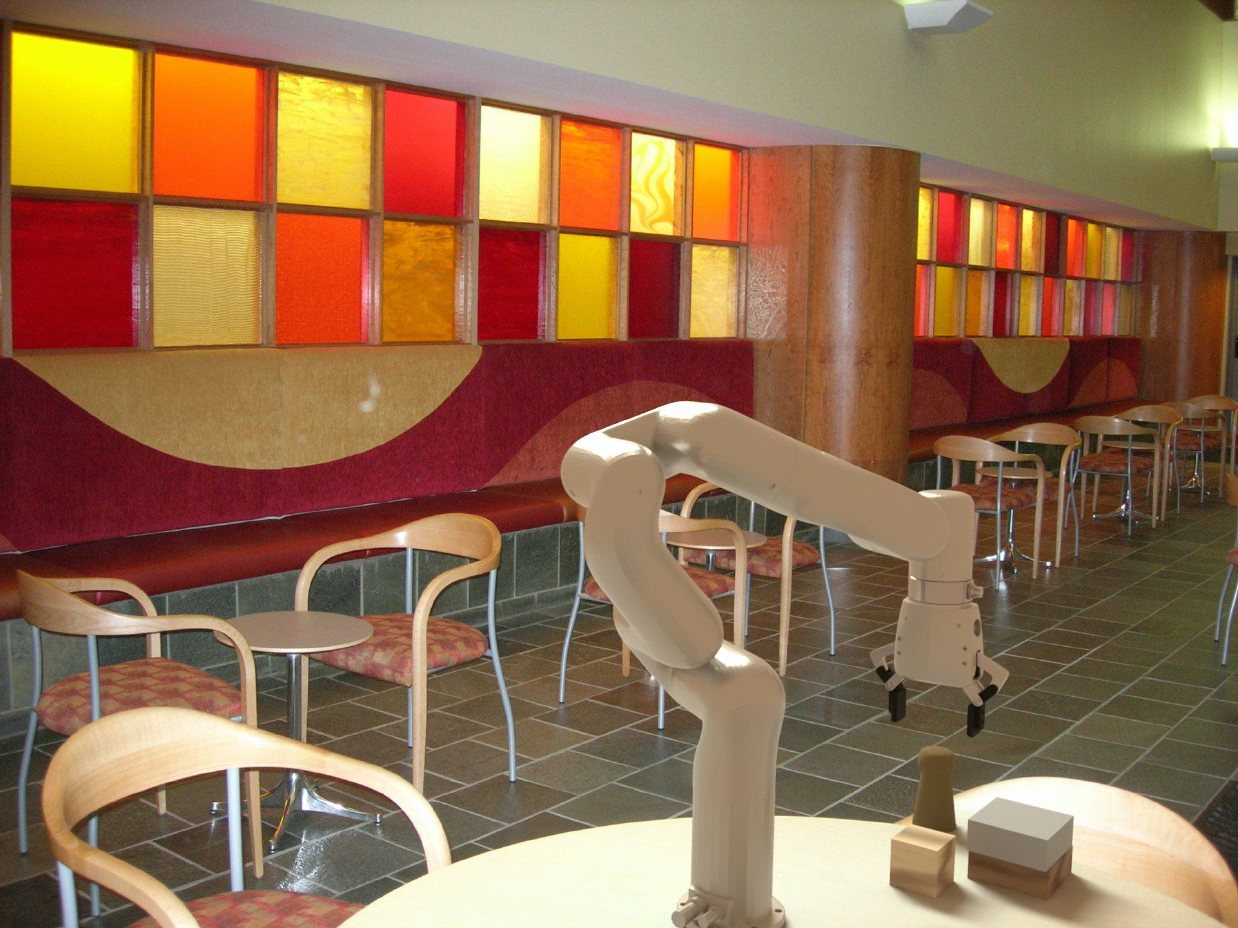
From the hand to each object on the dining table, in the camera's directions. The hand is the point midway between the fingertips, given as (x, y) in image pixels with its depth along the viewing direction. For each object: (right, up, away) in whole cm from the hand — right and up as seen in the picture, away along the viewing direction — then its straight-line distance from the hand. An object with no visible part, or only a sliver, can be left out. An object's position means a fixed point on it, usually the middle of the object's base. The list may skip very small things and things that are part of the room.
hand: (935, 726), depth 148 cm
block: (-1, -20, +2) cm, 20 cm away
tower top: (+12, -16, +4) cm, 20 cm away
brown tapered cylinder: (+5, -18, +20) cm, 28 cm away
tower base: (+12, -20, +4) cm, 24 cm away
